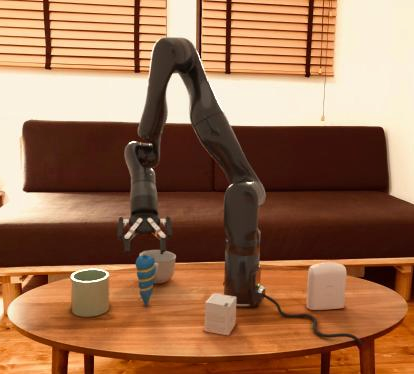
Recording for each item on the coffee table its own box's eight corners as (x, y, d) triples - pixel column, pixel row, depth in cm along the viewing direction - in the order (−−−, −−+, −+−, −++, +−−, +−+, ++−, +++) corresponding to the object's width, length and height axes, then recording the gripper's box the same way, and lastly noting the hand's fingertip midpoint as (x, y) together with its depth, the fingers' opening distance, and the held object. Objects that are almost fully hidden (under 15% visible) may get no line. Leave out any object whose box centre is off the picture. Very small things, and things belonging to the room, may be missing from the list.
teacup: (145, 272, 145) (145, 247, 144) (179, 275, 144) (179, 250, 142) (130, 289, 131) (130, 262, 130) (168, 292, 130) (168, 265, 129)
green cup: (115, 304, 121) (115, 272, 120) (95, 319, 113) (95, 284, 111) (85, 299, 124) (85, 266, 122) (63, 312, 115) (62, 278, 114)
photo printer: (309, 311, 121) (312, 266, 119) (303, 304, 125) (306, 260, 123) (346, 309, 123) (350, 265, 120) (339, 303, 127) (343, 259, 125)
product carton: (212, 320, 114) (213, 292, 113) (235, 324, 112) (237, 296, 111) (203, 331, 108) (204, 301, 107) (228, 336, 106) (229, 306, 105)
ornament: (151, 311, 118) (152, 254, 115) (132, 308, 119) (132, 252, 116) (158, 303, 123) (158, 248, 120) (139, 300, 124) (139, 246, 121)
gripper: (117, 193, 125) (117, 247, 116) (170, 193, 127) (174, 246, 118) (118, 208, 131) (117, 260, 122) (168, 208, 133) (171, 259, 124)
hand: (145, 253), depth 120 cm, fingers open, 8 cm apart
